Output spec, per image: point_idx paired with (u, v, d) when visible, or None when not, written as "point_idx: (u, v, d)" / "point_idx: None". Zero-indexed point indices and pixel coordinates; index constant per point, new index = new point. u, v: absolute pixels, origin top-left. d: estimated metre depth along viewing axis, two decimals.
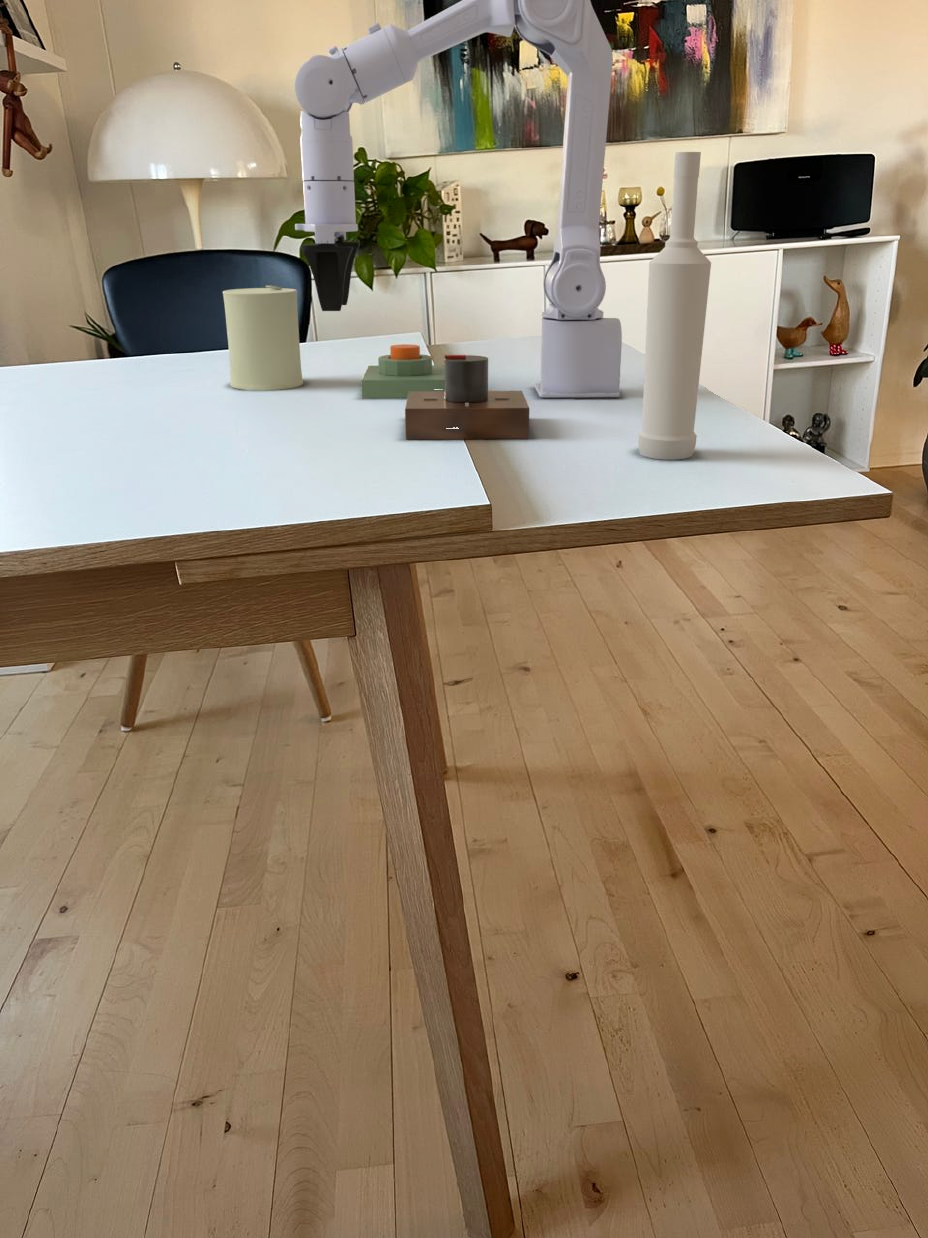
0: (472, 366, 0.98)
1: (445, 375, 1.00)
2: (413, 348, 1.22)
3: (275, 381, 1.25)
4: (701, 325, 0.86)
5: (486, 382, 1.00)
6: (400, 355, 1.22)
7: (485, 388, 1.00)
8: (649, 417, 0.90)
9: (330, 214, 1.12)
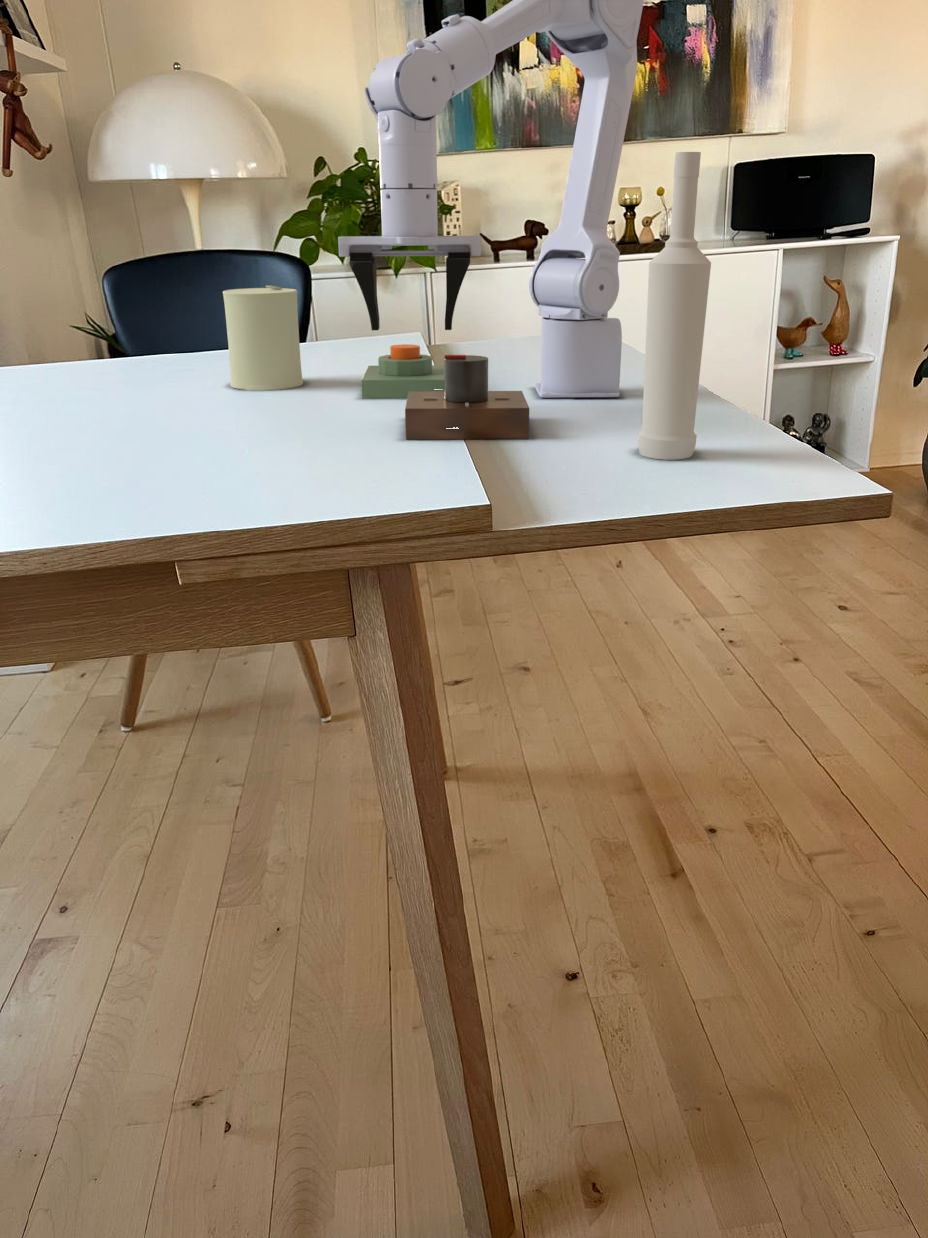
0: (472, 366, 0.98)
1: (445, 375, 1.00)
2: (413, 348, 1.22)
3: (275, 381, 1.25)
4: (701, 325, 0.86)
5: (486, 382, 1.00)
6: (400, 355, 1.22)
7: (485, 388, 1.00)
8: (649, 417, 0.90)
9: (437, 225, 1.03)
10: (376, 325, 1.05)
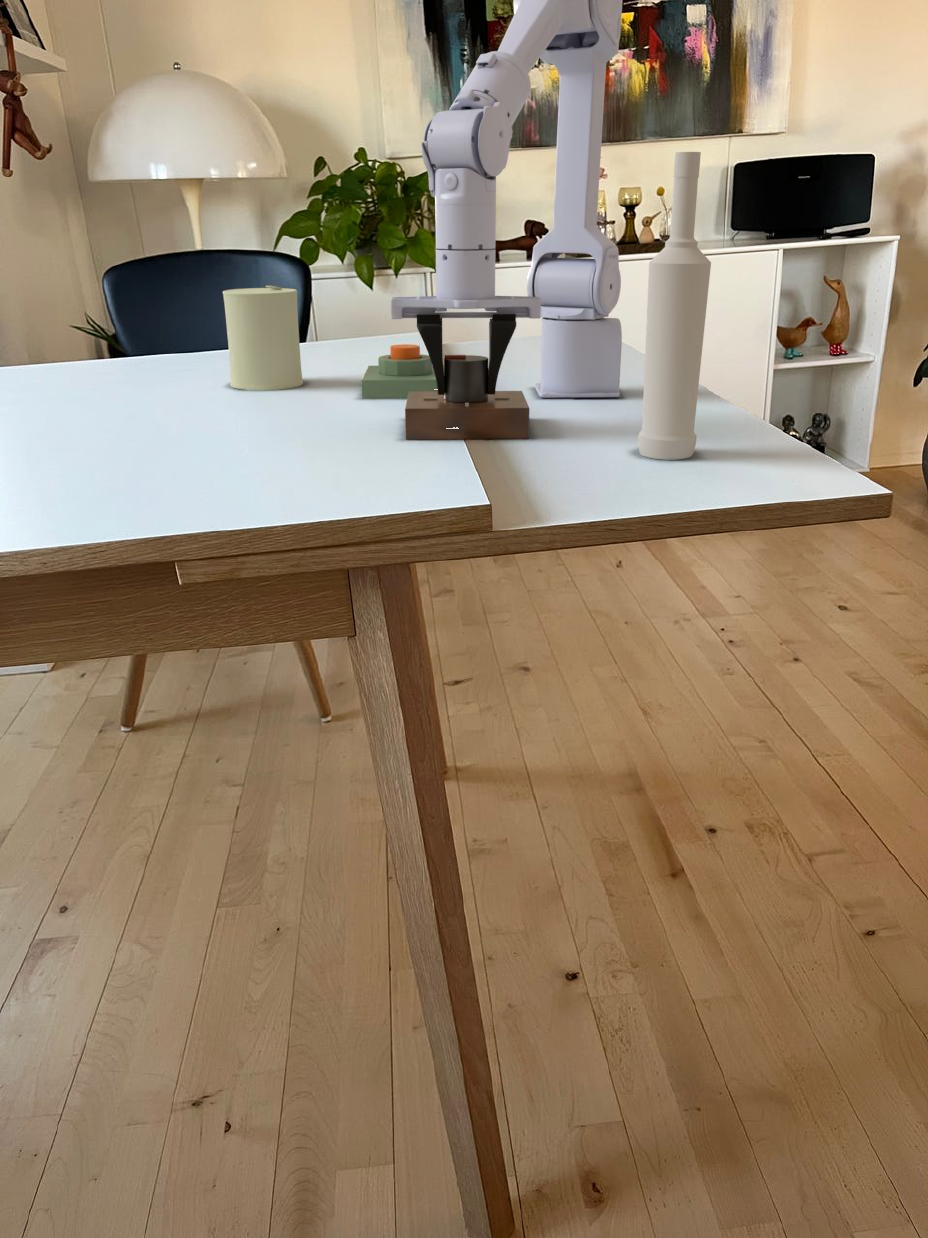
0: (472, 366, 0.98)
1: (445, 375, 1.00)
2: (413, 348, 1.22)
3: (275, 381, 1.25)
4: (701, 325, 0.86)
5: (486, 382, 1.00)
6: (400, 355, 1.22)
7: (485, 388, 1.00)
8: (649, 417, 0.90)
9: None
10: (443, 389, 1.00)
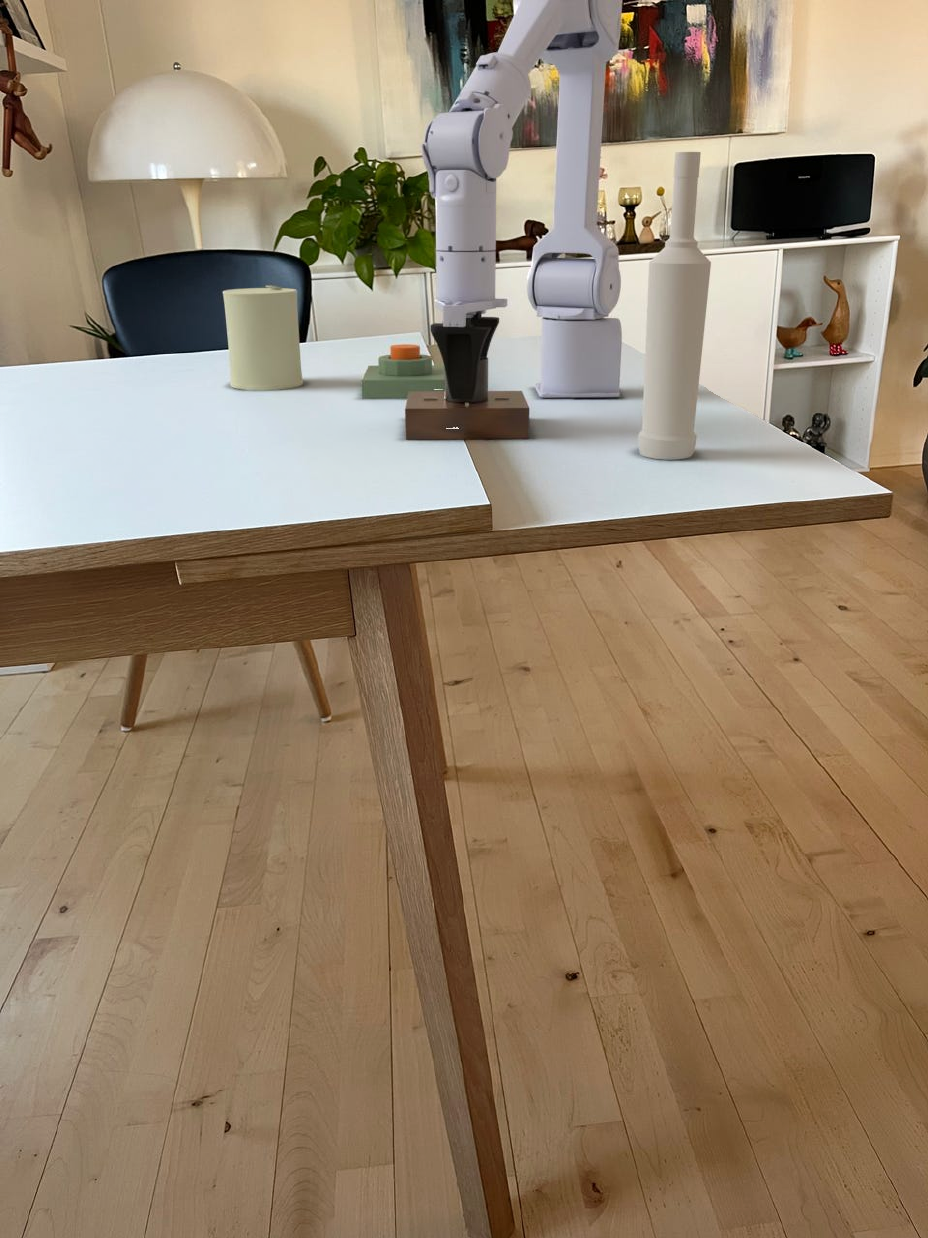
0: None
1: None
2: (413, 348, 1.22)
3: (275, 381, 1.25)
4: (701, 325, 0.86)
5: None
6: (400, 355, 1.22)
7: None
8: (649, 417, 0.90)
9: None
10: None
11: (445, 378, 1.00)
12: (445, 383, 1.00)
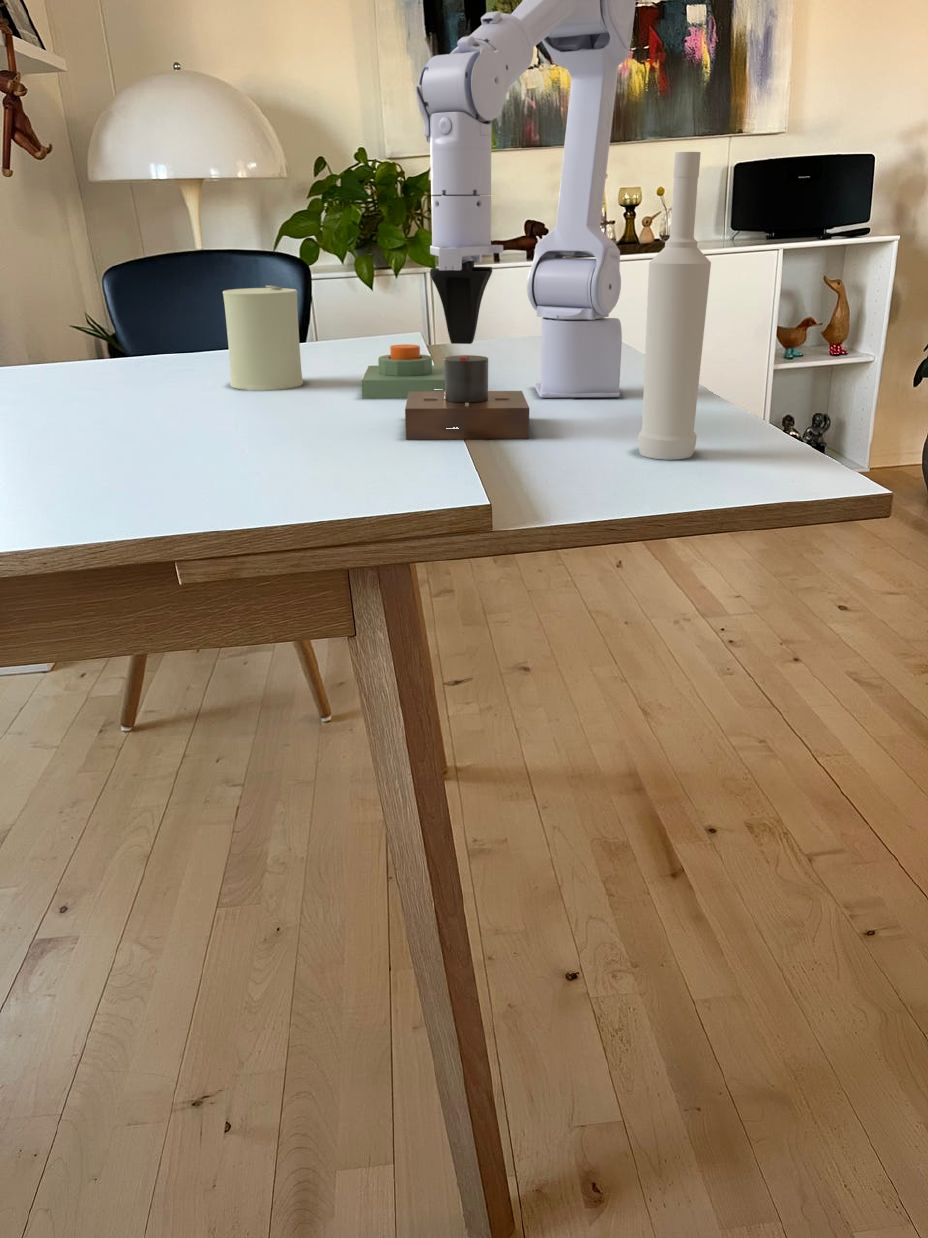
0: None
1: (469, 377, 0.99)
2: (413, 348, 1.22)
3: (275, 381, 1.25)
4: (701, 325, 0.86)
5: None
6: (400, 355, 1.22)
7: None
8: (649, 417, 0.90)
9: None
10: (473, 338, 1.01)
11: (445, 378, 1.00)
12: (445, 383, 1.00)
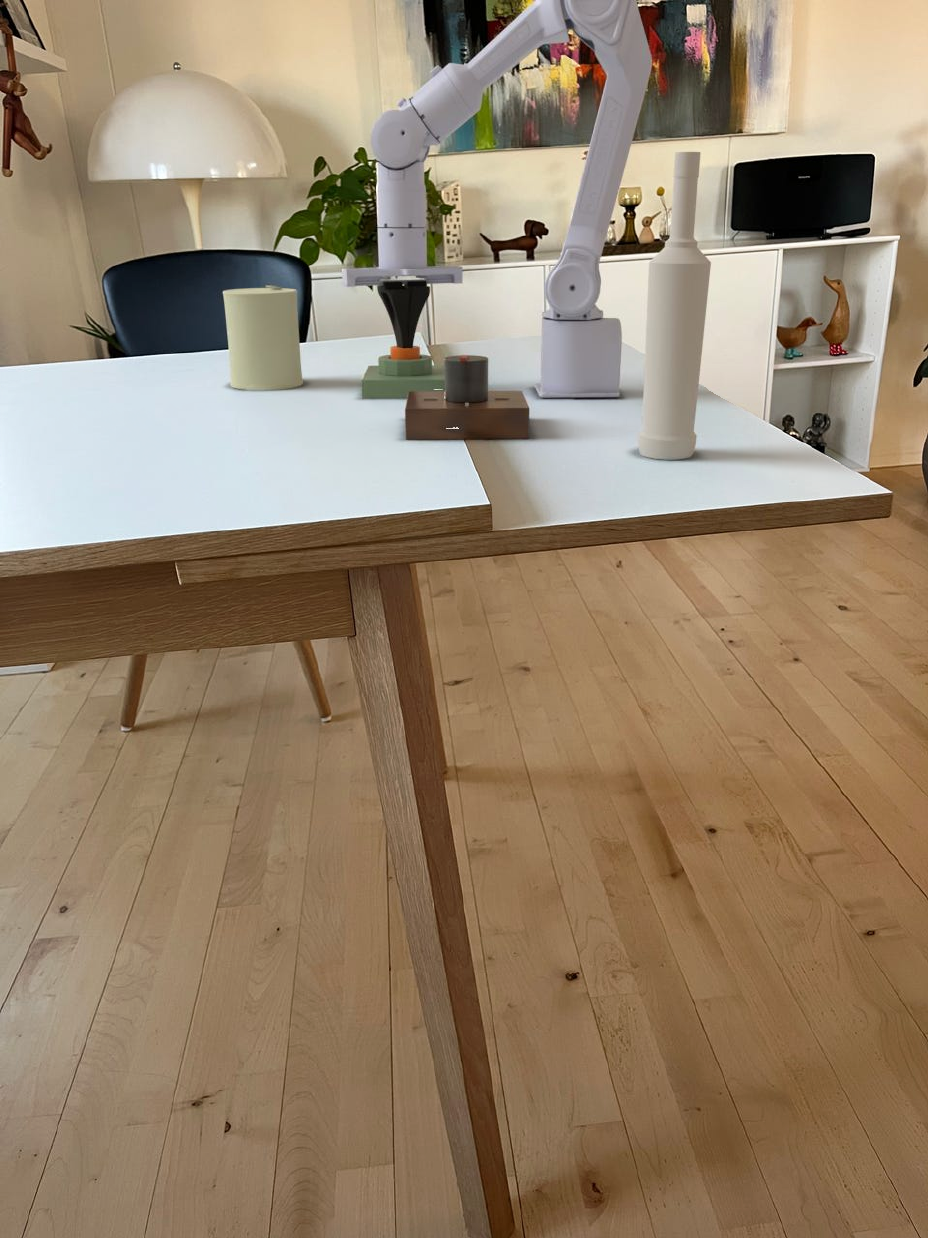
0: None
1: (469, 377, 0.99)
2: (413, 349, 1.22)
3: (275, 381, 1.25)
4: (701, 325, 0.86)
5: None
6: (400, 356, 1.22)
7: None
8: (649, 417, 0.90)
9: None
10: (406, 344, 1.22)
11: (445, 378, 1.00)
12: (445, 383, 1.00)
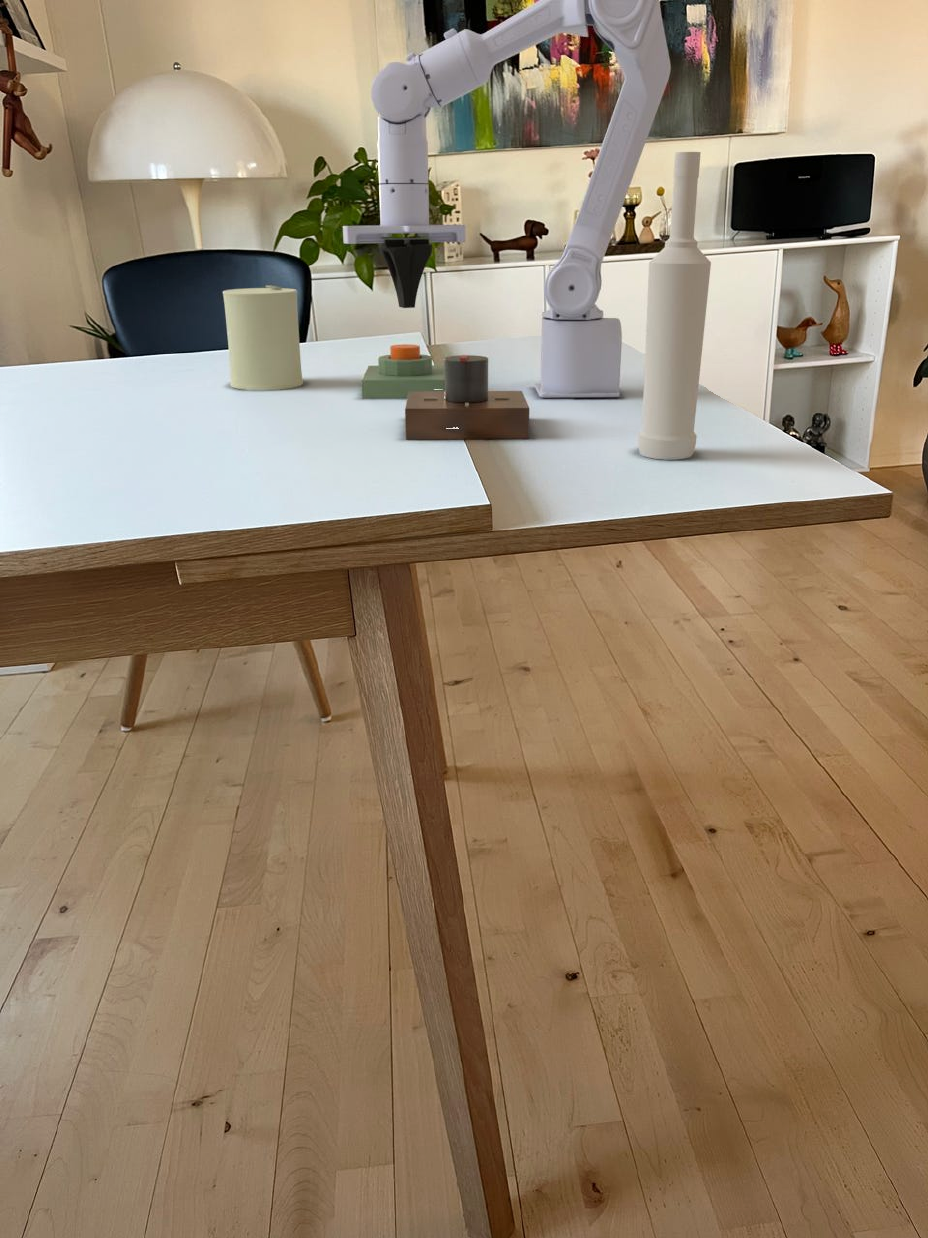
0: None
1: (469, 377, 0.99)
2: (413, 348, 1.22)
3: (275, 381, 1.25)
4: (701, 325, 0.86)
5: None
6: (400, 355, 1.22)
7: None
8: (649, 417, 0.90)
9: None
10: (408, 303, 1.20)
11: (445, 378, 1.00)
12: (445, 383, 1.00)
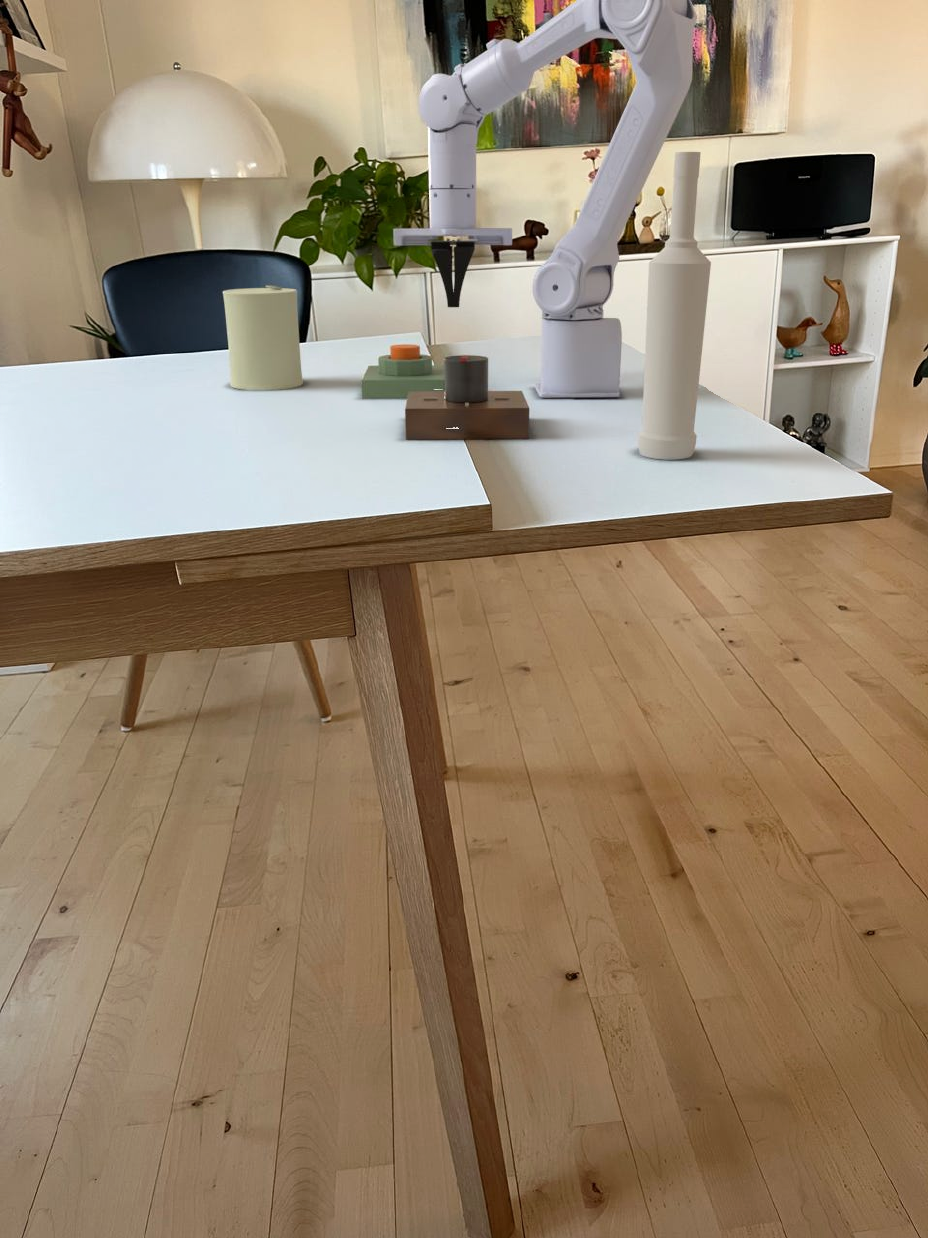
0: None
1: (469, 377, 0.99)
2: (413, 348, 1.22)
3: (275, 381, 1.25)
4: (701, 325, 0.86)
5: None
6: (400, 355, 1.22)
7: None
8: (649, 417, 0.90)
9: None
10: (451, 303, 1.26)
11: (445, 378, 1.00)
12: (445, 383, 1.00)
